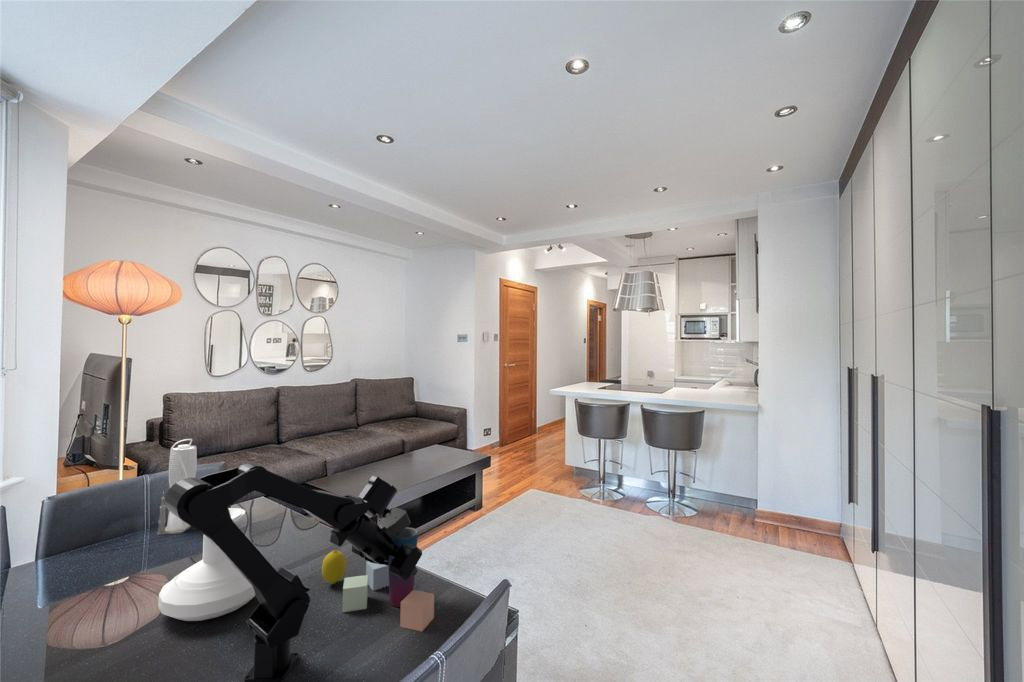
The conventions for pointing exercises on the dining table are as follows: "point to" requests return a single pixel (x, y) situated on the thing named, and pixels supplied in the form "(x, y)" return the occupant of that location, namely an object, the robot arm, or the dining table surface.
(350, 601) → the block sage
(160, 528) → the skyscraper
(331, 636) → the dining table surface
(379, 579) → the block slate
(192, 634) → the dining table surface
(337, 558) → the lemon
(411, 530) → the cup
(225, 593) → the candle holder
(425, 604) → the block terracotta
